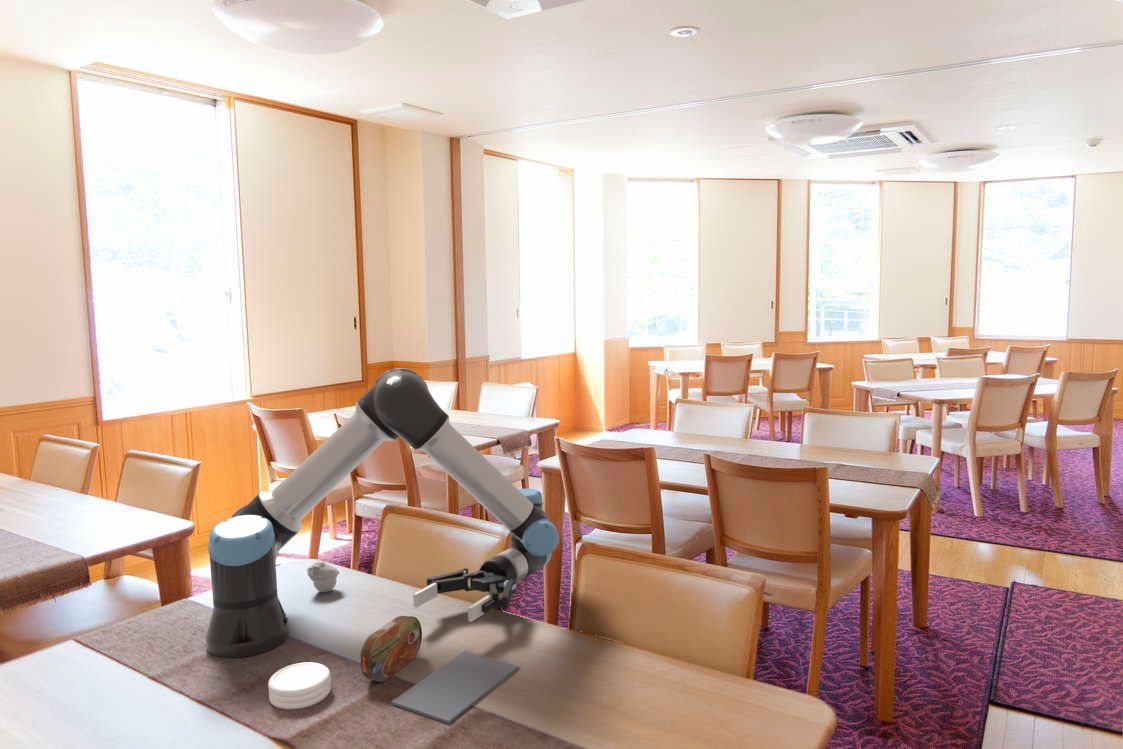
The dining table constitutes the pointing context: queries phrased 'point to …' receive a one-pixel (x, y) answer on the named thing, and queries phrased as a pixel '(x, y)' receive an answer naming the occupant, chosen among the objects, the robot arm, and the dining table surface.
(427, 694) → the slate mat
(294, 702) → the white round stack
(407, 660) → the tin
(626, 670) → the dining table surface
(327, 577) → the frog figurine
